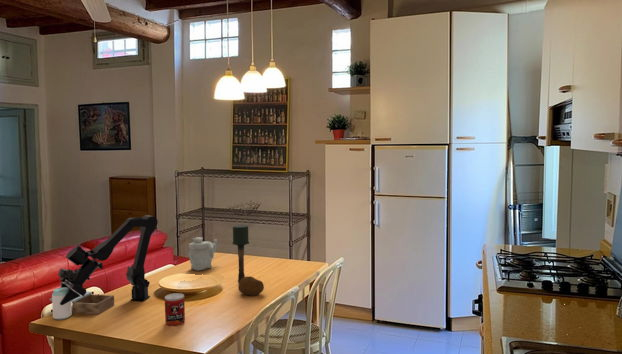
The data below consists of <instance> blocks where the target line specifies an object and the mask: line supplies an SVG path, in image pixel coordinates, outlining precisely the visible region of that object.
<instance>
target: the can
mask: <svg viewBox="0 0 622 354" xmlns="http://www.w3.org/2000/svg"><path fill="white" fill-rule="evenodd" d="M67 292H68V289H67V287H62V288H61V287H57V288H55V289H53V292H52V294H51V298H52V301H51V304H52V318H53V319H55V320H57V321H58V320H66V319H68V318H70V317H71V316H72V315H73V308H72V302H71V301H69V302H67V303H66V304H64V305H60V303H61V301H62V299H63V298H64V296H65V295H66V294H67Z"/></svg>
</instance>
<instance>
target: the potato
mask: <svg viewBox="0 0 622 354" xmlns="http://www.w3.org/2000/svg"><path fill="white" fill-rule="evenodd" d="M264 289H265V285H264V283H263V281H262V280H259V279H257V278H254V277H253V276H250V275H249V276H245V277H243V278H242V279H241V280H240V282H239V283H238V292H240V293H241V294H243V295H246V296H249V297H250V296H251V297H252V296H253V297H254V296H257V295H260V294H261V293H262V292H263V291H264Z"/></svg>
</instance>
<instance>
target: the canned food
mask: <svg viewBox="0 0 622 354" xmlns="http://www.w3.org/2000/svg"><path fill="white" fill-rule="evenodd" d="M185 307H186V306H185V294H183V293H180V292H178V293H177V292H176V293H174V292H173V293H169V294H167V295H165V296H164V317H165V319H164V320H165V324H166V325H167V326H168V327H176V326H181V325H183V324H184V323H185V320H186V316H185V315H186V313H185V311H186V310H185V309H186V308H185Z"/></svg>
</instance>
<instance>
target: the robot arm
mask: <svg viewBox="0 0 622 354" xmlns="http://www.w3.org/2000/svg"><path fill="white" fill-rule="evenodd" d="M158 223H159V220H158V218H157V217H156V216H152V215H149V214H145V215H142V216H141V217H139V216H138V217H128V218H126V220H125V221H124V222H123V223H122V224H121V225H120V226H119V227H118V228H117V229H116V230H115V231H114V232H113V233H112V234H111V235H110V236H109V237H108V238H107V239H106V240H104V241H102V242H100V243H99V244H98V245H96V246H95V247H93V249H90V250H85V249H83V248H82V246H80V245H76V246H75V247H74V248H72V249H71V250H69V251H68V252H67V254H66V256H65V258H66V259H67V260H68V261H69V262H71V263H72V264H74V265H75V266H79V268H75V269H74V270H73V269H69V268H68V269H65V268H62V267H60V268H59V271H58V273H57V276H58V277H59V280H60V281H59V283H60V288H62V287H67V289H68V292H67V294H66V295H65V296H64V298H63V299H62V301H61V303H60V305H64V304H66V303H67V302H69V301H71V300H73V299H75V298H77V297H80V295H82V296H84V295H85V294H86V292H87V289H86V288H85V287H84V284H85V283H86V281H90V279H91V278H90V277H91V276H92V275H93V273H94V272H95V271H96V270H97V269H100V270H103V269H104V266H103V262H105V261H107V260H108V259H109V258H110V257H111V255H112V253H113V252H114V250H115V247H116V246H117V245H118V244H119V243H120V242H121V241H122V240H123V239H124V238H125V237H126V236H127V235H128V234H129V233H130V232H131V231H132V230H133V229H134V228H139V231H140V235H139V239H138V243H137V248H136V253H135V256H134V260H133V264H132V265H131V266H127V270H126V271H127V272H126V273H125V276H126V280H127V281H128V282H129V283H130V284H131V298H130V301H134V302H135V301H137V302H144V301H145V300H146V301H147V299H149V298H150V297H151V295H149V287H150V281H148V280H147V279H146V278H145V276H146V271H145V261H146V259H147V254H148V248H149V245H150V242H151V237H152V235H153V233H154V232H155V231H156V229H157V226H158ZM90 258H92V259H90ZM97 260H98V261H97ZM99 261H100V262H99Z"/></svg>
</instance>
